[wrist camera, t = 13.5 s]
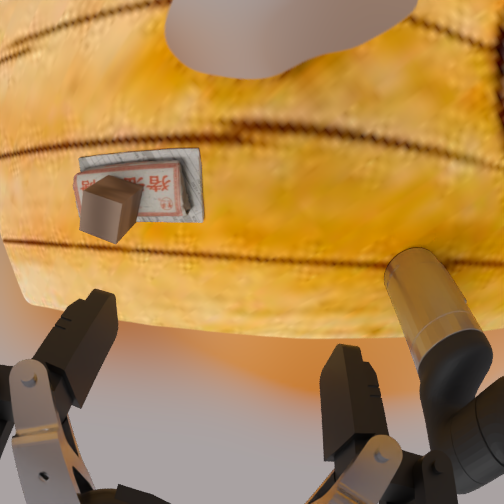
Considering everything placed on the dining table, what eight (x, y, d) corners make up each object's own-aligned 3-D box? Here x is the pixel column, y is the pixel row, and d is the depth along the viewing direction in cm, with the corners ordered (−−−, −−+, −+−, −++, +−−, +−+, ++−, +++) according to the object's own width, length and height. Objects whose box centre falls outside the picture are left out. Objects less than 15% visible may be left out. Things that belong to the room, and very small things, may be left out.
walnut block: (143, 186, 35) (122, 203, 30) (136, 222, 38) (116, 244, 33) (108, 174, 35) (83, 190, 30) (102, 210, 37) (79, 230, 32)
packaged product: (78, 233, 40) (63, 165, 35) (94, 218, 44) (82, 155, 39) (198, 234, 38) (191, 154, 33) (206, 218, 42) (201, 146, 37)
